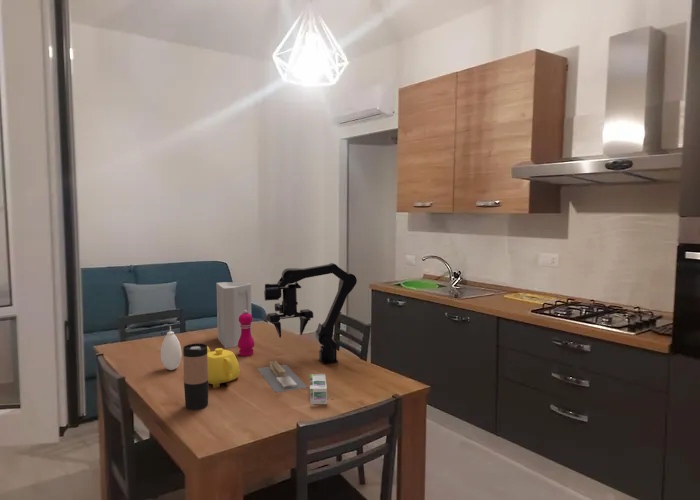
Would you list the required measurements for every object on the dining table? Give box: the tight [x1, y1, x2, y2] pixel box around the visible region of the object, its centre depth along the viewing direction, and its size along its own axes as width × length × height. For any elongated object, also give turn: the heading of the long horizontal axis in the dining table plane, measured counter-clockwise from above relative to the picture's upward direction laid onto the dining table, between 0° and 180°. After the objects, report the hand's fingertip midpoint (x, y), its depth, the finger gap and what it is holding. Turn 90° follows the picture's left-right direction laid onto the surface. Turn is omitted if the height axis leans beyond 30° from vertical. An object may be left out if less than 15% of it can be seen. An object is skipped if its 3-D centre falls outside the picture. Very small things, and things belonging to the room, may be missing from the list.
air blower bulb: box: [160, 325, 183, 371], centre depth 199 cm, size 8×8×18 cm
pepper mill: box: [237, 310, 255, 357], centre depth 219 cm, size 7×7×20 cm
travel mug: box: [182, 343, 209, 411], centre depth 162 cm, size 8×8×20 cm
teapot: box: [207, 345, 241, 389], centre depth 186 cm, size 14×20×13 cm
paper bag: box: [216, 281, 253, 349], centre depth 240 cm, size 19×15×28 cm
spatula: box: [269, 360, 297, 389], centre depth 186 cm, size 5×24×3 cm, turn 24°
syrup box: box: [309, 373, 328, 406], centre depth 170 cm, size 6×6×14 cm
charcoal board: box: [256, 364, 309, 393], centre depth 187 cm, size 12×28×1 cm, turn 24°
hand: (290, 336), depth 205 cm, fingers open, 9 cm apart
